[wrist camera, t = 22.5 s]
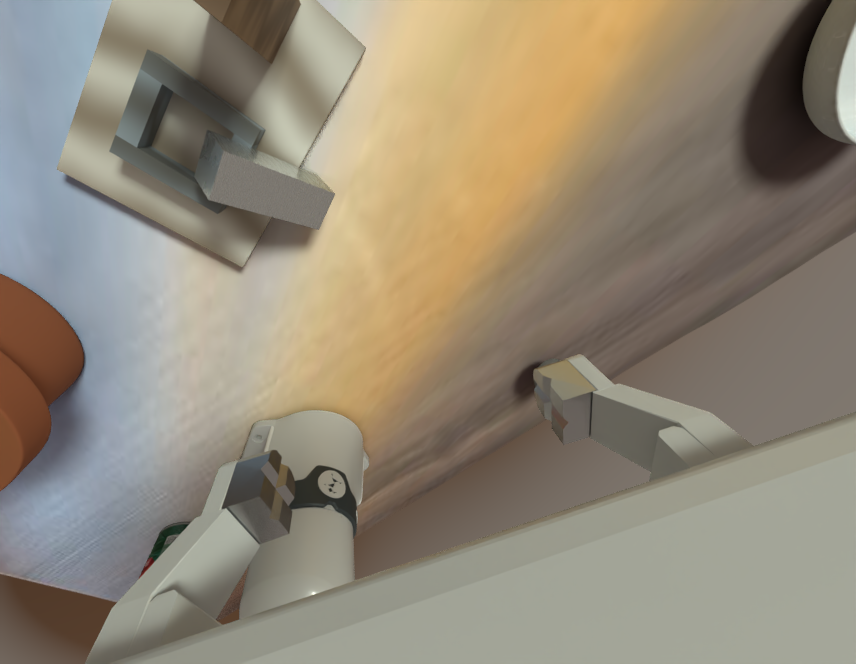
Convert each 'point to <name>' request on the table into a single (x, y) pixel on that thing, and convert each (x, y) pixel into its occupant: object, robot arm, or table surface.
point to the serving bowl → (833, 73)
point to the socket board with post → (203, 103)
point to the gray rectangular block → (260, 182)
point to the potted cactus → (30, 373)
